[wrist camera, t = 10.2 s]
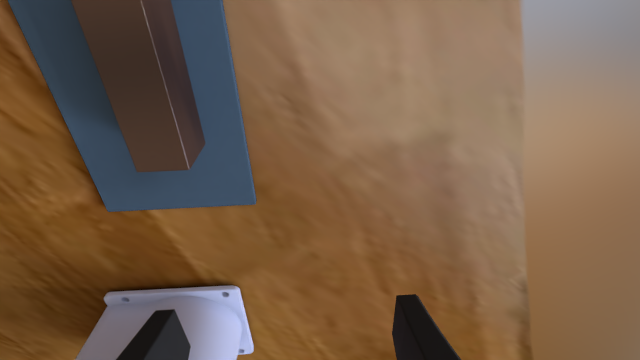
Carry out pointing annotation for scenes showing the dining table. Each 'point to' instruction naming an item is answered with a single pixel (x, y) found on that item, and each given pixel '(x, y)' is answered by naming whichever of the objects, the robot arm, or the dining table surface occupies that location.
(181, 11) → the mat
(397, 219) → the dining table surface
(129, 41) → the knife
